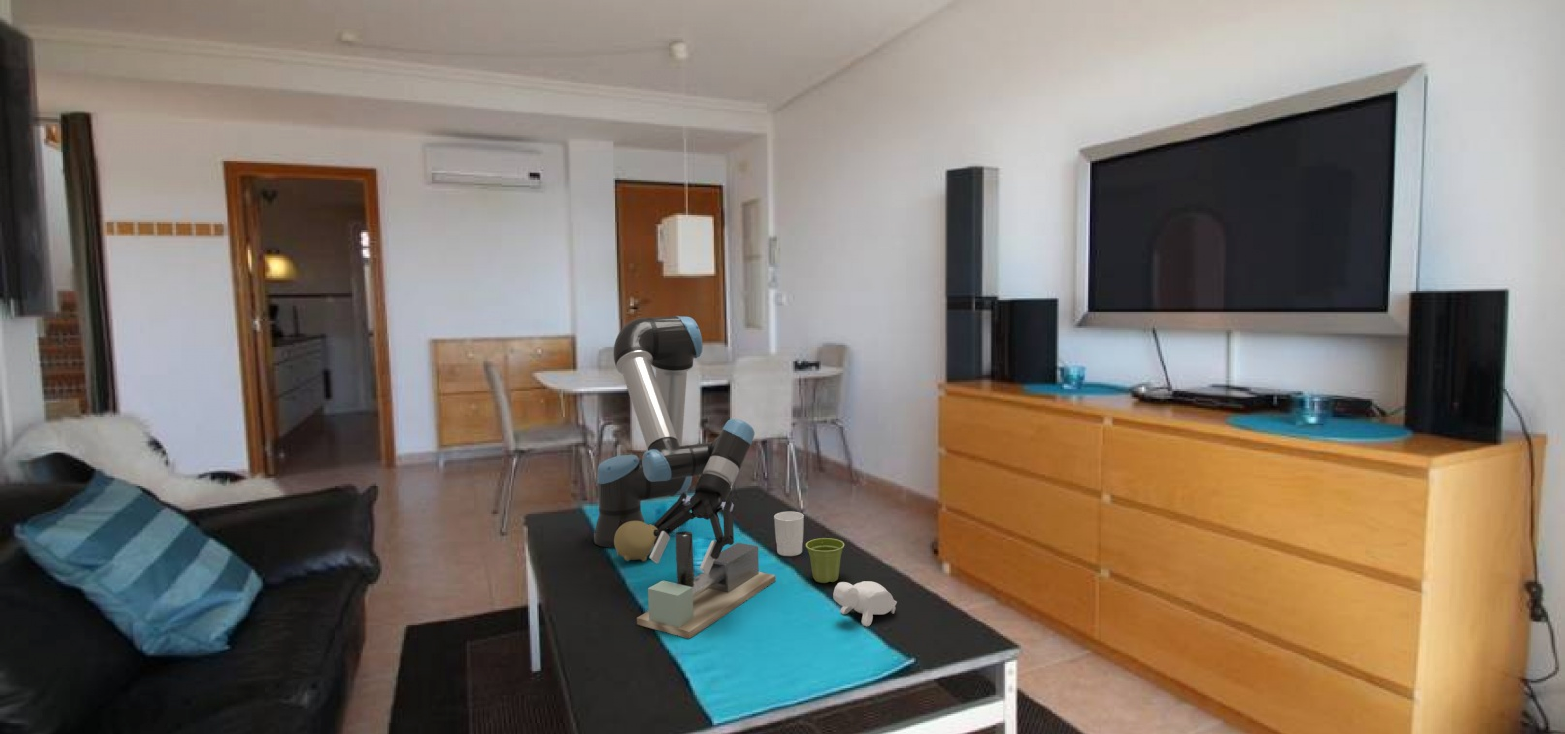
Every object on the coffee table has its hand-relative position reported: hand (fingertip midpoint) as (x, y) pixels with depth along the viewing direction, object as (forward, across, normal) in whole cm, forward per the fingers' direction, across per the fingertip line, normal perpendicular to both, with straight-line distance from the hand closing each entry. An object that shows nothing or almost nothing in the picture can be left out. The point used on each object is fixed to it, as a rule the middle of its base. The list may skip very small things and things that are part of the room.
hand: (678, 566), depth 163 cm
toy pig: (-8, +33, -26) cm, 43 cm away
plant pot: (-16, -17, -34) cm, 41 cm away
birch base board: (+1, 0, -16) cm, 17 cm away
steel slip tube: (+1, 0, -11) cm, 11 cm away
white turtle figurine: (-5, -34, -23) cm, 41 cm away
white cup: (-25, 0, -42) cm, 49 cm away
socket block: (+10, 0, -5) cm, 11 cm away
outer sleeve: (-7, 0, -22) cm, 23 cm away
